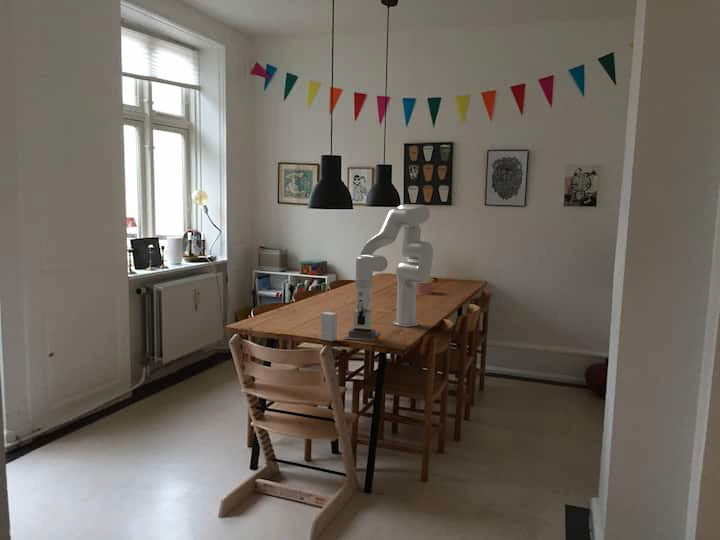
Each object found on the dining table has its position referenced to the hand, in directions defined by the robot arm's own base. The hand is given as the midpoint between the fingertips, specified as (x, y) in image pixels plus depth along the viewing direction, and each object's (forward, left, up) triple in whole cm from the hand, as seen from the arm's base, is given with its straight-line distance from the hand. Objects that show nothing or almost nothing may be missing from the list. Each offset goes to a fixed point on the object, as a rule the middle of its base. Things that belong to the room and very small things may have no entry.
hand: (362, 323), depth 260 cm
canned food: (-128, +12, -7) cm, 129 cm away
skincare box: (+10, -13, -7) cm, 18 cm away
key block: (0, 0, -1) cm, 1 cm away
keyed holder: (0, 0, -6) cm, 6 cm away
